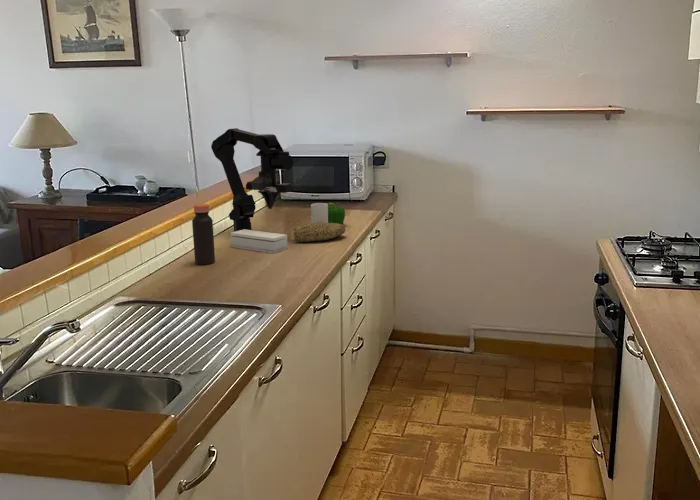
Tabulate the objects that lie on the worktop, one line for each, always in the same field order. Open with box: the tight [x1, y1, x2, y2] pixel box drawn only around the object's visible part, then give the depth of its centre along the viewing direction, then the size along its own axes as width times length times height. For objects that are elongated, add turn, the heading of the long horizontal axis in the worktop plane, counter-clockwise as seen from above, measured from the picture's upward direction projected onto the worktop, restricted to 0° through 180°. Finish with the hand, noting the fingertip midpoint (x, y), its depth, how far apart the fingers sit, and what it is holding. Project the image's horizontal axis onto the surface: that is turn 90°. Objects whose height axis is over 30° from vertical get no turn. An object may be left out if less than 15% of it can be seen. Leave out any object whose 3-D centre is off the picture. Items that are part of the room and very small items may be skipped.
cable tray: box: [230, 235, 289, 254], centre depth 257 cm, size 20×8×4 cm, turn 60°
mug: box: [310, 202, 329, 224], centre depth 277 cm, size 10×7×12 cm, turn 164°
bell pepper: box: [328, 202, 346, 225], centre depth 290 cm, size 8×8×10 cm
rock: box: [293, 222, 346, 243], centre depth 268 cm, size 13×8×20 cm
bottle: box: [191, 203, 216, 266], centre depth 236 cm, size 7×7×20 cm
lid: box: [230, 229, 288, 241], centre depth 257 cm, size 20×8×1 cm, turn 60°
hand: (270, 208), depth 267 cm, fingers closed
